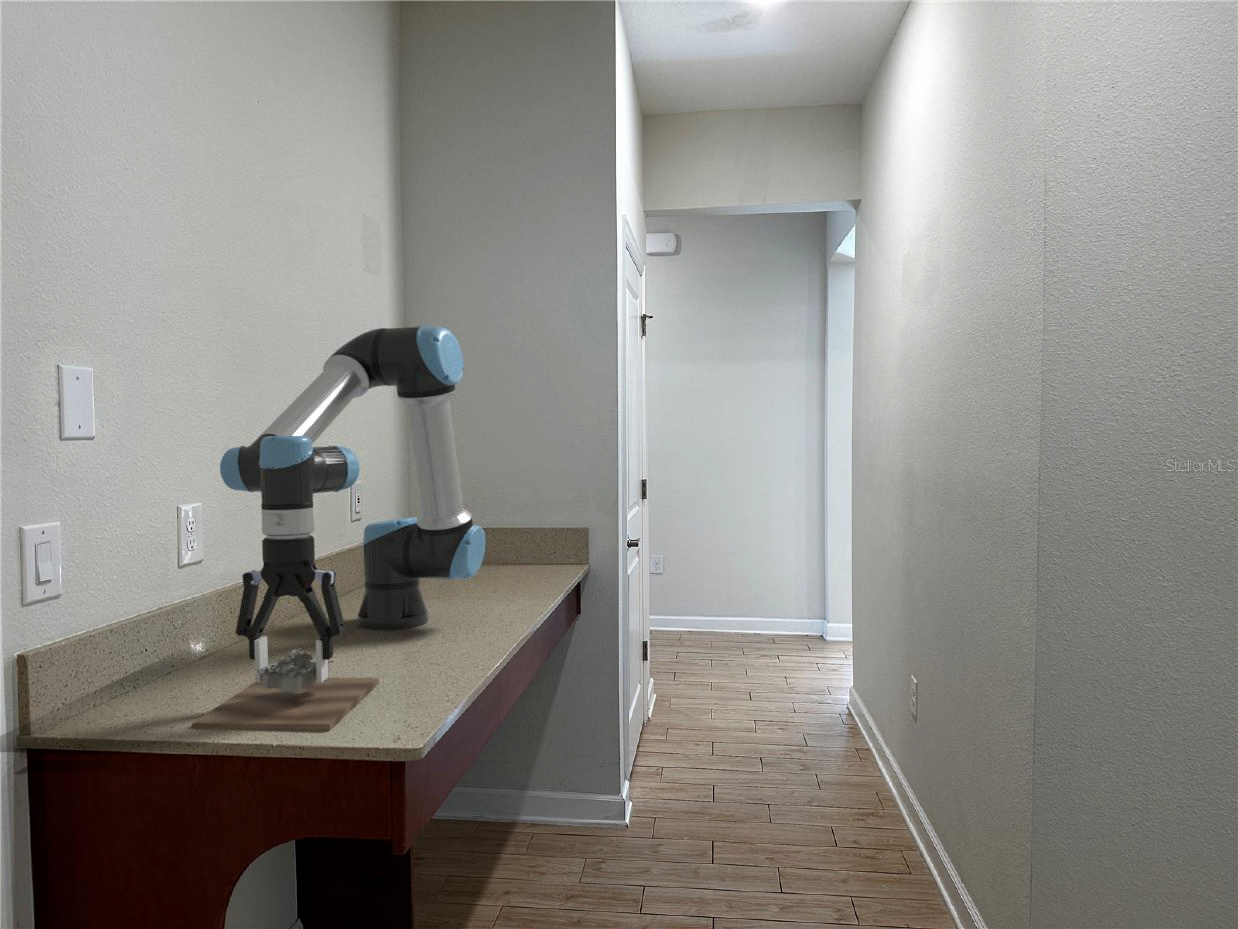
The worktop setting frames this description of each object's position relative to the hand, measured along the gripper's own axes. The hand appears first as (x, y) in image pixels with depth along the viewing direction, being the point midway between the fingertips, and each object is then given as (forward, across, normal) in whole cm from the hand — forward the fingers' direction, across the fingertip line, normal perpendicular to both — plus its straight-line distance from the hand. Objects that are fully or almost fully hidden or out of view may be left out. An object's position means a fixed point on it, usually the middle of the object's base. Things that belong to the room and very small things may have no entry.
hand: (292, 679), depth 132 cm
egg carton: (+2, -2, 0) cm, 3 cm away
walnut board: (+4, 0, 0) cm, 4 cm away
